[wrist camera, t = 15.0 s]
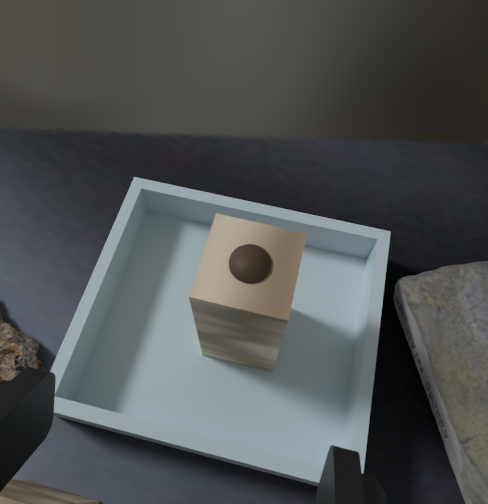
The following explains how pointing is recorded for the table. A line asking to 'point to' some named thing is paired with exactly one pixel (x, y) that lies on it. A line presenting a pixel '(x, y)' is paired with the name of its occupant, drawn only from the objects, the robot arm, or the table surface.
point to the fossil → (453, 362)
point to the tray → (216, 370)
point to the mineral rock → (16, 352)
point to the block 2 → (245, 290)
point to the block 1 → (38, 494)
